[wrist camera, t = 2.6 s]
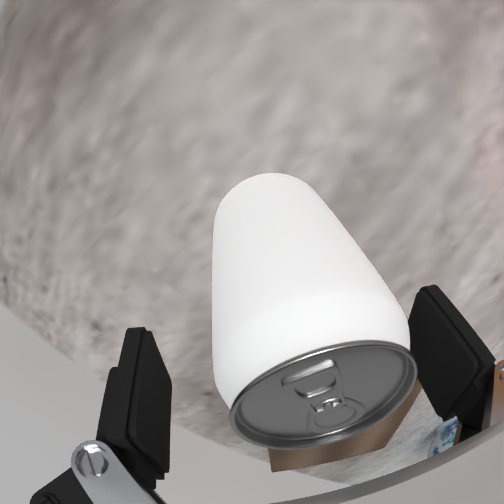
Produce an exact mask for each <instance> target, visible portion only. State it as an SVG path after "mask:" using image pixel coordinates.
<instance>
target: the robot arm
mask: <svg viewBox="0 0 504 504" xmlns="http://www.w3.org/2000/svg"><path fill="white" fill-rule="evenodd" d="M408 326H409V334H410V351H411V352H412V354H413V355H414V356H415V358H416V360H417V363H418V377H417V378H418V380H419V382H420V384H421V386H422V387H423V389H424V391H425V393H426V395H427V397H428V398H429V400H430V402H431V404H432V406H433V408H434V410H435V412H436V414H437V415H438V416H440V417H442V419H443V421H444V422H446V421H448V420H450V419H452V418H454V417H455V416H456V417H457V419H458V424H457V429H456V433H455V438H454V442H453V446H452V447H451V448H449V449H447V450H445V451H443V452H441V453H438V454H436V455H434V456H432V457H430V458H428V459H425V460H423V461H421V462H418V463H416V464H413V465H411V466H408V467H406V468H403V469H401V470H398V471H396V472H393V473H390V474H387V475H385V476H382V477H379V478H376V479H373V480H370V481H367V482H364V483H360V484H357V485H354V486H351V487H347V488H343V489H339V490H336V491H332V492H327V493H323V494H319V495H315V496H310V497H305V498H300V499H295V500H290V501H284V502H278V503H272V504H504V360H502V361H500V362H498V363H497V365H495V364H494V362H495V360H496V359H495V358H494V356H493V355H492V354H491V352H490V351H489V349H488V348H487V347H486V345H485V344H484V343H483V341H482V340H481V339H480V337H479V336H478V335H477V334H476V332H475V331H474V330H473V328H472V327H471V326H470V325H469V323H468V322H467V321H466V320H465V318H464V317H463V316H462V315H461V313H460V312H459V311H458V310H457V308H456V307H455V306H454V305H453V304H452V302H451V301H450V300H449V299H448V298H447V297H446V295H445V294H444V293H443V292H442V291H441V290H440V288H439V287H438V286H437V285H430V286H425V287H422V288H421V289H420V290H419V292H418V293H417V294H416V297H415V301H414V304H413V307H412V310H411V313H410V317H409V320H408ZM171 398H172V383H171V379H170V376H169V374H168V372H167V369H166V367H165V364H164V362H163V360H162V357H161V355H160V352H159V350H158V347H157V345H156V342H155V339H154V337H153V334H152V332H151V331H147V330H146V328H145V327H137V328H128V329H127V331H126V334H125V338H124V342H123V347H122V351H121V355H120V360H119V364H118V367H112V368H111V369H110V372H109V375H108V379H107V384H106V389H105V393H104V398H103V403H102V408H101V413H100V419H99V424H98V430H97V436H96V440H91V441H86V442H83V443H81V444H80V445H79V446H78V447H76V449H75V450H74V452H73V453H72V457H71V468H69V469H68V470H67V471H65V472H64V473H62V474H61V475H60V476H58V477H57V478H56V479H54V480H53V481H52V482H50V483H48V484H47V485H46V486H44V487H43V488H41V489H40V490H38V491H37V492H36V493H35V494H34V495H33V496H32V498H31V500H30V504H167V503H166V502H165V501H164V500H163V499H162V498H161V497H160V496H159V495H158V493H156V491H155V490H154V489H155V488H156V479H158V480H164V473H168V472H169V467H170V466H169V465H170V464H169V463H170V421H171Z"/></svg>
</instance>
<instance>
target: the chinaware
mask: <svg viewBox="0 0 504 504" xmlns="http://www.w3.org/2000/svg"><path fill="white" fill-rule="evenodd" d="M457 424H458V419H457V417H456V416H455V417H454V418H452V419H450V420H448V421H446V422H443V423H442V424H441V425H440V426H439V427H438V428H437V429H436V434H437V435H436V437H435V438H434V440H433V442H432V444H431V446H430V449H429V452H428V458H430V457H432V456H434V455H436V454H438V453H441V452H443V451H445V450H447V449H449V448H451V447H452V446H453V442H454V438H455V433H456V429H457ZM428 458H427V459H428Z"/></svg>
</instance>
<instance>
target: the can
mask: <svg viewBox="0 0 504 504" xmlns="http://www.w3.org/2000/svg"><path fill="white" fill-rule="evenodd" d="M212 352H213V371H214V378H215V383H216V386H217V389H218V391H219V393H220V395H221V396H222V398H223V400H224V401H225V403H226V404H227V406H228V407H229V408H230V423H231V426H232V428H233V430H234V431H235V432H236V433H237V434H238V435H239V436H240V437H241V438H243V439H244V440H246V441H248V442H250V443H252V444H255V445H258V446H261V447H266V448H271V449H282V450H295V449H307V448H314V447H319V446H324V445H328V444H332V443H335V442H338V441H341V440H344V439H347V438H350V437H352V436H354V435H357V434H359V433H361V432H363V431H365V430H367V429H369V428H371V427H372V426H374V425H376V424H377V423H379V422H380V421H382V420H383V419H385V418H386V417H387V416H389V415H390V414H391V413H392V412H394V411H395V410H396V409H397V408H398V407H399V406H400V405H401V404H402V403H403V402H404V401H405V399H406V398H407V397H408V395H409V394H410V393H411V391H412V389H413V387H414V385H415V383H416V381H417V377H418V363H417V360H416V358H415V356H414V355H413V354H412V352H411V351H410V334H409V326H408V322H407V319H406V317H405V315H404V313H403V310H402V309H401V307H400V305H399V304H398V302H397V300H396V299H395V297H394V296H393V294H392V293H391V291H390V290H389V288H388V287H387V285H386V284H385V282H384V281H383V279H382V278H381V277H380V275H379V274H378V272H377V271H376V269H375V268H374V267H373V265H372V264H371V263H370V261H369V260H368V258H367V257H366V256H365V254H364V253H363V252H362V250H361V249H360V248H359V246H358V245H357V244H356V242H355V241H354V240H353V238H352V237H351V236H350V234H349V233H348V232H347V230H346V229H345V228H344V226H343V225H342V224H341V223H340V221H339V220H338V219H337V218H336V216H335V215H334V214H333V213H332V211H331V210H330V209H329V208H328V206H327V205H326V204H325V203H324V201H323V200H322V199H321V198H320V197H319V196H318V194H317V193H316V192H315V191H314V190H313V189H312V188H311V187H310V186H309V185H307V184H306V183H305V182H303V181H301V180H300V179H298V178H295V177H293V176H290V175H286V174H280V173H266V174H260V175H256V176H253V177H250V178H248V179H246V180H244V181H242V182H241V183H239V184H237V185H236V186H235V187H234V188H232V189H231V190H230V191H229V192H228V193H227V195H226V196H225V197H224V198H223V200H222V201H221V203H220V205H219V207H218V209H217V212H216V216H215V220H214V230H213V260H212Z"/></svg>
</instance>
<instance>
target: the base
mask: <svg viewBox="0 0 504 504" xmlns="http://www.w3.org/2000/svg"><path fill="white" fill-rule="evenodd" d="M421 389H422V386H421V384H420V382H419V380H418V378H417V381H416V383H415V385H414V387H413V389H412V391H411V393H410V394H409V395H408V397H407V398H406V399H405V401H404V402H403V403H402V404H401V405H400V406H399V407H398V408H397V409H396V410H395V411H394V412H392V413H391V414H390V415H389V416H387V417H386V418H385V419H383V420H382V421H380V422H379V423H377V424H376V425H374V426H372V427H371V428H369V429H367V430H365V431H363V432H361V433H359V434H357V435H354V436H352V437H350V438H347V439H344V440H341V441H338V442H335V443H332V444H328V445H324V446H319V447H314V448H307V449H295V450H282V449H271V448H268V450H269V457H270V464H271V470H272V472H278V471H284V470H292V469H298V468H303V467H309V466H314V465H319V464H324V463H328V462H333V461H337V460H341V459H346V458H350V457H353V456H357V455H361V454H364V453H368V452H371V451H375V450H378V449H381V448H384V447H385V446H386V444H387V443H388V442H389V440H390V439H391V437H392V436H393V434H394V433H395V431H396V430H397V428H398V427H399V425H400V424H401V422H402V421H403V419H404V417H405V416H406V414H407V413H408V411H409V409H410V408H411V406H412V404H413V403H414V401H415V399H416V398H417V396H418V394H419V392H420V391H421Z"/></svg>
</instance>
